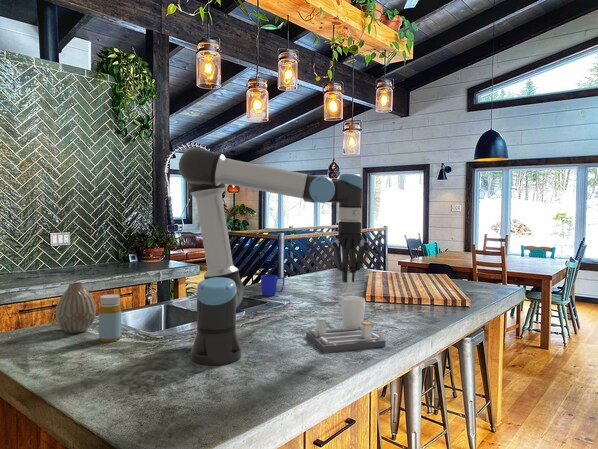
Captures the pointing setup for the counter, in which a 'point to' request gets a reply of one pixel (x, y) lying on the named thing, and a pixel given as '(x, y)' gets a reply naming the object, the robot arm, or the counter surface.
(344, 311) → the cup
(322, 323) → the block
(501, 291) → the counter surface
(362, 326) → the fader
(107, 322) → the bottle
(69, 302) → the vase
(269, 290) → the mug
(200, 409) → the counter surface
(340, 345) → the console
